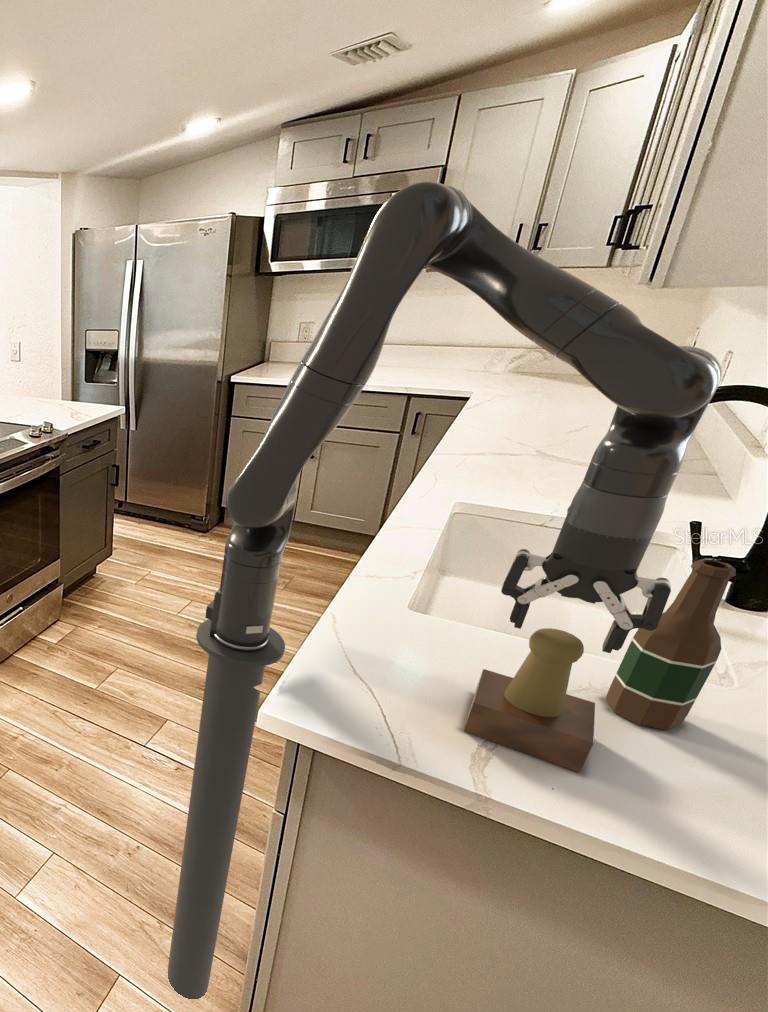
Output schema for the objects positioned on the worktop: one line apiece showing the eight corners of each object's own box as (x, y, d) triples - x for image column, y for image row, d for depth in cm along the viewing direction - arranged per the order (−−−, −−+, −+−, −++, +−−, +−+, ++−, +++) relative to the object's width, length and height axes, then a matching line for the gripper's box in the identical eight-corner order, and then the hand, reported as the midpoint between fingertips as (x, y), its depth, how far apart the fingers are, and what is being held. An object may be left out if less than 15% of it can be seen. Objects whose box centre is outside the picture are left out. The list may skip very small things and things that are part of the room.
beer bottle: (679, 740, 83) (764, 584, 73) (600, 712, 88) (669, 564, 78) (683, 712, 87) (763, 562, 77) (607, 688, 93) (673, 545, 83)
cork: (494, 695, 85) (519, 629, 81) (520, 683, 87) (546, 617, 83) (546, 722, 80) (575, 653, 75) (572, 708, 82) (603, 640, 78)
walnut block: (463, 731, 86) (473, 702, 84) (473, 695, 93) (483, 668, 91) (579, 773, 78) (593, 743, 76) (581, 731, 85) (595, 702, 83)
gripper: (527, 518, 75) (487, 630, 81) (701, 549, 65) (639, 673, 72) (532, 500, 79) (494, 607, 86) (695, 527, 70) (638, 644, 77)
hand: (560, 637), depth 79 cm, fingers open, 8 cm apart
